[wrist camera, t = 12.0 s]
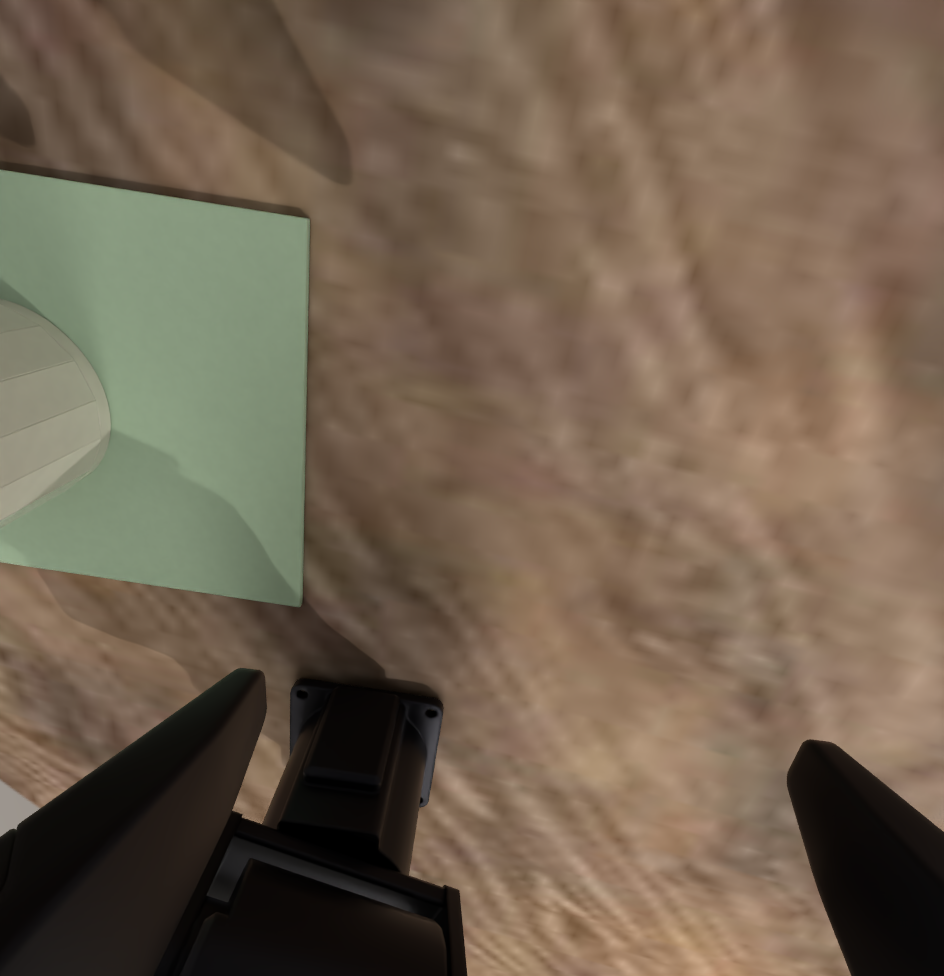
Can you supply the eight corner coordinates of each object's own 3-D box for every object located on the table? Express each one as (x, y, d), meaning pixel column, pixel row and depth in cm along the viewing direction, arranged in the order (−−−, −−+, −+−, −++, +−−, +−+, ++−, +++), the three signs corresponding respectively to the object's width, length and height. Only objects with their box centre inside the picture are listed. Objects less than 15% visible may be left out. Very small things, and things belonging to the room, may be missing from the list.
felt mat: (302, 603, 22) (300, 607, 22) (-198, 527, 22) (-207, 531, 22) (310, 218, 16) (307, 218, 16) (-369, 110, 16) (-385, 108, 16)
